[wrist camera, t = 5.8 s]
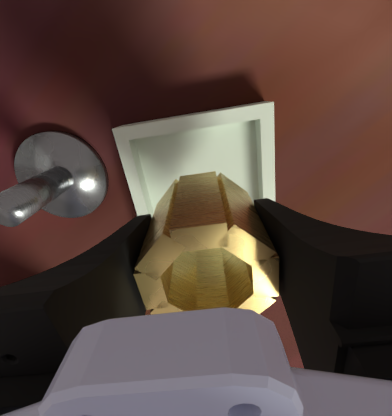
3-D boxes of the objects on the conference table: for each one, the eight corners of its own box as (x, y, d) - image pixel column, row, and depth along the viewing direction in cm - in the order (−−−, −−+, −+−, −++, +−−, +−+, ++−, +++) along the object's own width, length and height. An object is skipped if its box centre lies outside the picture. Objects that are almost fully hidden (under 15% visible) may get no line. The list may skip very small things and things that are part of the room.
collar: (247, 166, 12) (279, 215, 7) (253, 262, 14) (278, 341, 10) (148, 180, 12) (119, 236, 7) (172, 271, 15) (161, 352, 10)
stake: (119, 208, 19) (86, 254, 13) (42, 218, 19) (-19, 267, 14) (91, 123, 16) (35, 137, 10) (3, 138, 16) (-94, 159, 11)
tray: (268, 228, 19) (275, 242, 17) (154, 242, 20) (149, 257, 18) (264, 101, 15) (273, 101, 13) (121, 125, 16) (111, 128, 14)
